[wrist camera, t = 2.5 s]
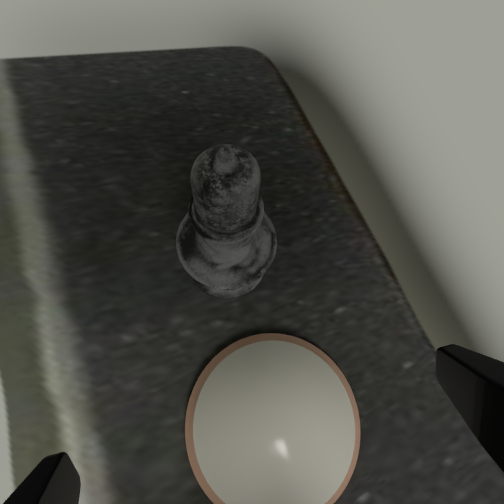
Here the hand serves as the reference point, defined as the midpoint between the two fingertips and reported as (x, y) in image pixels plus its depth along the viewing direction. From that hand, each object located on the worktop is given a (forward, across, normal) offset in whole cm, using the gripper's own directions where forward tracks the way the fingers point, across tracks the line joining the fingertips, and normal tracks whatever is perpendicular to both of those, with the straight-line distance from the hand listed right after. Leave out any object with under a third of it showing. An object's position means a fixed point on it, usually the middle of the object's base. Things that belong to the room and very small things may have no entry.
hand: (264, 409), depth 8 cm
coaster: (+8, -1, +10) cm, 13 cm away
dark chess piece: (+16, 0, +3) cm, 16 cm away
